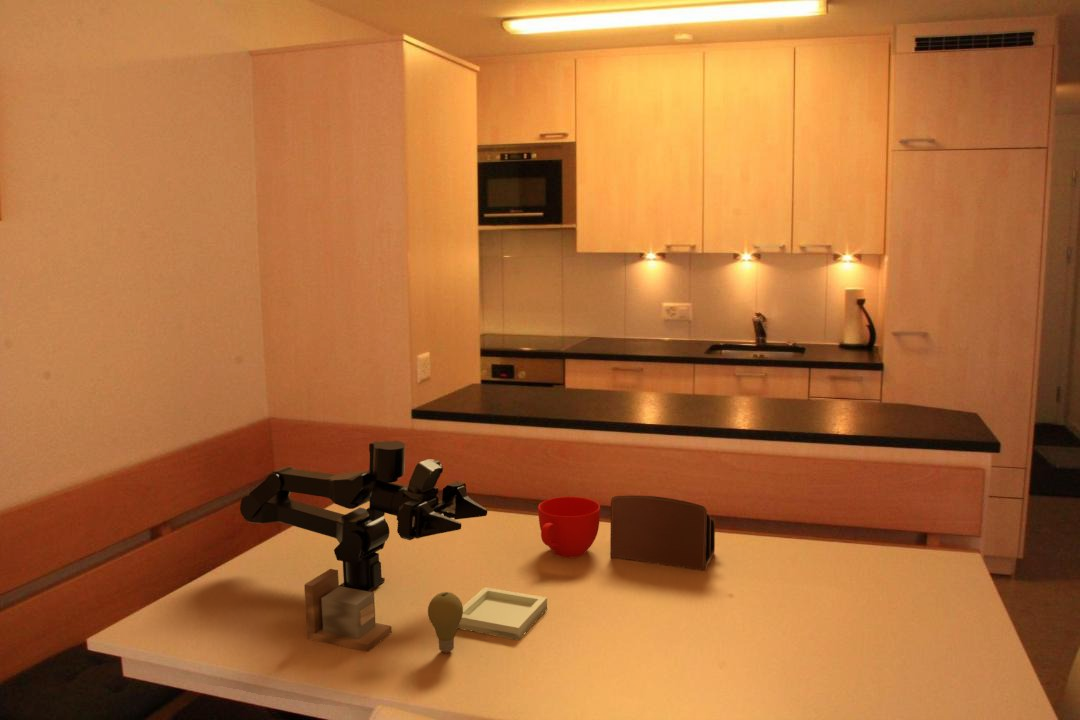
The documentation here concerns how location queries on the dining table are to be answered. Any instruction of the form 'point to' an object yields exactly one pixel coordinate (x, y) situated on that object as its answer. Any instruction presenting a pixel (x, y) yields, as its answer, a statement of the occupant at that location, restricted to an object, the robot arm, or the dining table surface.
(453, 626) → the light bulb
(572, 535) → the ceramic cup
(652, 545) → the letter holder
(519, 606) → the tray
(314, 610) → the bookend
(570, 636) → the dining table surface
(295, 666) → the dining table surface
